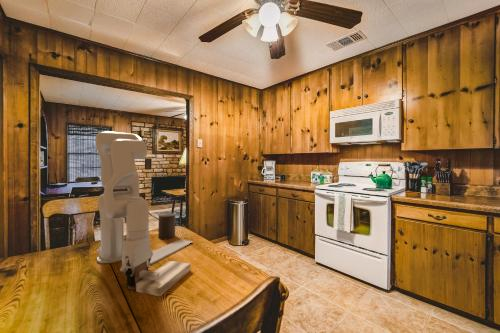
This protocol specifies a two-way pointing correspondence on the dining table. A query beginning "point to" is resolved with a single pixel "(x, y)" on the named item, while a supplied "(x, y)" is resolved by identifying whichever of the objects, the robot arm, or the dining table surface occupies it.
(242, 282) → the dining table surface
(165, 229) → the pillar candle
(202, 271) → the dining table surface
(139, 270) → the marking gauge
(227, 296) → the dining table surface
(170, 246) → the baseboard
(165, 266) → the birch plank
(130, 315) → the dining table surface
